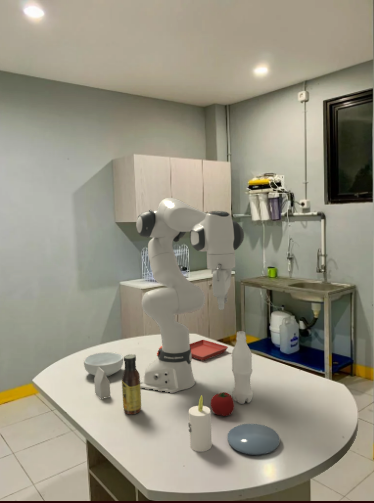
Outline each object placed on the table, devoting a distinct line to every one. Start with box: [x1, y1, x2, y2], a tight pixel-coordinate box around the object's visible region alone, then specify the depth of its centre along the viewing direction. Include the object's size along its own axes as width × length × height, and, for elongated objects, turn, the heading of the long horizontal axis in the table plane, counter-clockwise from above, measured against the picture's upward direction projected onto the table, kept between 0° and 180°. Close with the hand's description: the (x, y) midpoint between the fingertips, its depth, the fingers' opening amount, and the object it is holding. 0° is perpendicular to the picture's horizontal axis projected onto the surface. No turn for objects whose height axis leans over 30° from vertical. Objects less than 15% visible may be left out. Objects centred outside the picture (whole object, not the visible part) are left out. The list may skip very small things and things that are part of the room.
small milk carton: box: [93, 367, 111, 400], centre depth 154 cm, size 4×7×10 cm, turn 31°
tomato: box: [210, 391, 235, 417], centre depth 136 cm, size 8×8×7 cm
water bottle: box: [231, 330, 254, 405], centre depth 144 cm, size 7×7×25 cm
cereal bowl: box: [83, 351, 124, 377], centre depth 175 cm, size 17×17×7 cm
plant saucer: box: [190, 339, 229, 362], centre depth 196 cm, size 18×18×3 cm
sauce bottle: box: [121, 353, 142, 415], centre depth 139 cm, size 6×6×20 cm
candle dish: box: [226, 423, 281, 456], centre depth 118 cm, size 15×15×2 cm
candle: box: [188, 395, 213, 453], centre depth 117 cm, size 6×6×15 cm
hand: (223, 306), depth 128 cm, fingers open, 8 cm apart
